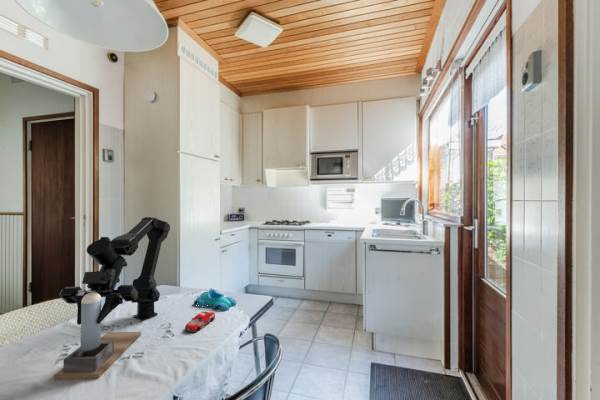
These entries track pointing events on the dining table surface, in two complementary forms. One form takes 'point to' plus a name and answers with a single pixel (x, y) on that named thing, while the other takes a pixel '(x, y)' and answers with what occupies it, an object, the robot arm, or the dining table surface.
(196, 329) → the race car
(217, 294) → the toy car
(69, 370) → the board
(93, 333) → the post
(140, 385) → the dining table surface
